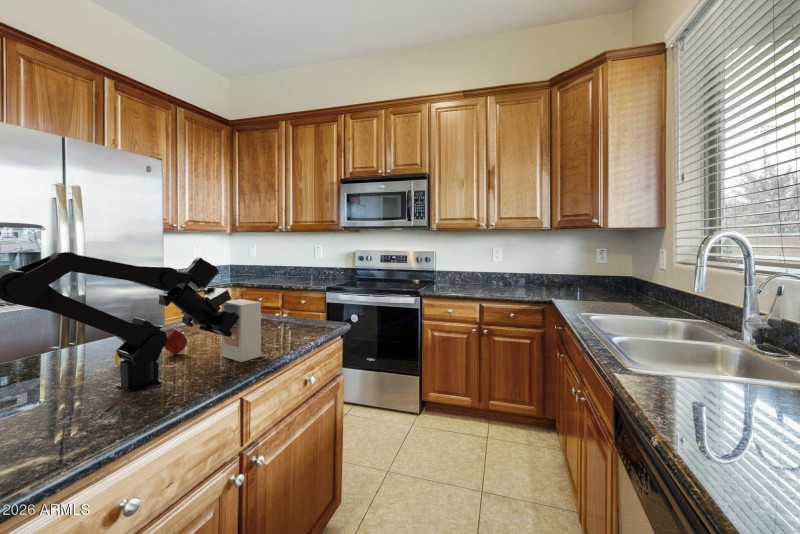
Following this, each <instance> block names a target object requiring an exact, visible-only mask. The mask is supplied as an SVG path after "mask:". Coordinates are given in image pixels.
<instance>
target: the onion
mask: <svg viewBox="0 0 800 534" xmlns="http://www.w3.org/2000/svg"><path fill="white" fill-rule="evenodd" d="M166 336H167V342H166V345H165V346H164V349H165V350H166V351H168V352H169V353H170V354H171V355H174V356H177V355H178V354H180V353H181V352H182V351H184V349H186V347H187V346H188V345H187V344H188V339H187V337H186V336H185V334H184V333H183V332H181V331H179V330H178V329H177V328H176V327H174V328H173V329H172V332H170V333H169V334H167V335H166Z"/></svg>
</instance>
